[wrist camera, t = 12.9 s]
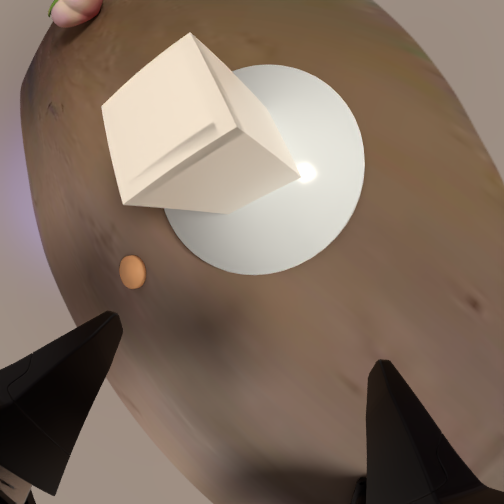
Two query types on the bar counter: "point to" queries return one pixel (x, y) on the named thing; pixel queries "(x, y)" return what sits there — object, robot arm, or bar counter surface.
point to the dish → (293, 194)
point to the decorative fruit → (73, 11)
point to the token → (132, 272)
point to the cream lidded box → (193, 136)
